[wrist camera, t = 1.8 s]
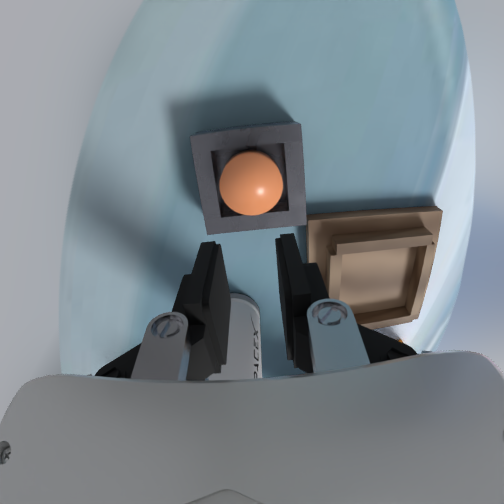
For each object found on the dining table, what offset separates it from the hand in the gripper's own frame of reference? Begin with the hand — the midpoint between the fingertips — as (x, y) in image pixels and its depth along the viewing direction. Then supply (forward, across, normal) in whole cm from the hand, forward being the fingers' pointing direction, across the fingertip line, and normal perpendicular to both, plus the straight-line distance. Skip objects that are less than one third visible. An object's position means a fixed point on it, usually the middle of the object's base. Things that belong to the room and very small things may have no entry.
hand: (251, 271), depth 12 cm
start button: (+15, 0, 0) cm, 15 cm away
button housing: (+17, 0, 0) cm, 17 cm away
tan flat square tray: (+17, -13, +13) cm, 25 cm away
